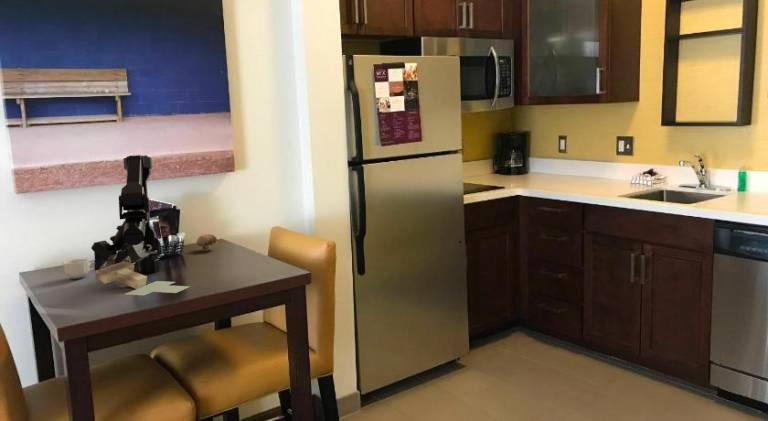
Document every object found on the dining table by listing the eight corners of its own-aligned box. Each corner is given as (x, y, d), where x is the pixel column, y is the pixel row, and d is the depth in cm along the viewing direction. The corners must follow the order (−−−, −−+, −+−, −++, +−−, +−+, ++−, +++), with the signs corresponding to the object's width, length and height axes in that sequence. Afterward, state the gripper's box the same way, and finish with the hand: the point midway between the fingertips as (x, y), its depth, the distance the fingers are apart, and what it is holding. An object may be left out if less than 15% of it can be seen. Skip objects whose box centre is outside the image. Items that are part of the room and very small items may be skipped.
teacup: (65, 281, 200) (63, 264, 199) (64, 276, 207) (62, 260, 206) (98, 276, 205) (97, 260, 204) (97, 271, 211) (95, 256, 211)
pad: (123, 294, 181) (123, 294, 181) (156, 281, 195) (156, 280, 195) (167, 297, 177) (167, 296, 177) (197, 283, 191) (197, 283, 191)
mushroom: (193, 252, 237) (192, 236, 236) (202, 248, 245) (201, 232, 244) (213, 252, 236) (211, 236, 235) (221, 248, 243) (220, 232, 242)
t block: (94, 279, 185) (96, 270, 185) (122, 269, 197) (124, 261, 196) (127, 292, 183) (129, 283, 182) (154, 282, 194) (155, 273, 193)
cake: (108, 270, 214) (106, 255, 213) (103, 265, 222) (101, 250, 221) (138, 266, 219) (136, 251, 218) (132, 261, 227) (131, 246, 226)
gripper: (132, 249, 178) (105, 290, 181) (168, 240, 196) (143, 277, 199) (103, 225, 179) (77, 266, 182) (142, 218, 197) (117, 256, 200)
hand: (106, 267), depth 191 cm, fingers open, 9 cm apart
